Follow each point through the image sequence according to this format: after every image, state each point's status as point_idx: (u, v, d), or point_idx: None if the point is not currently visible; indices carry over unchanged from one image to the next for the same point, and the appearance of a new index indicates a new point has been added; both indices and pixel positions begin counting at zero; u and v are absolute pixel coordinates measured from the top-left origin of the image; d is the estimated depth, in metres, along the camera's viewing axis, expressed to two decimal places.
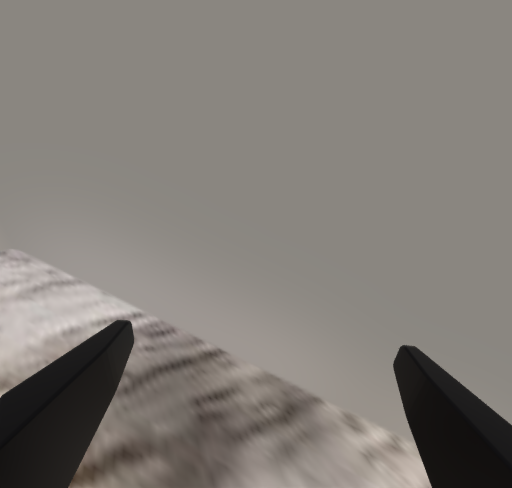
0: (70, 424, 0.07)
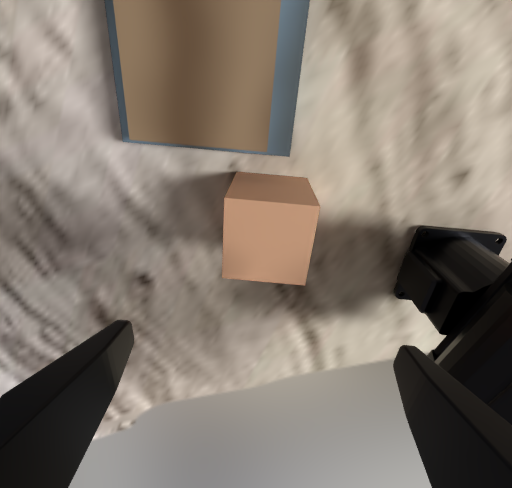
0: (70, 424, 0.07)
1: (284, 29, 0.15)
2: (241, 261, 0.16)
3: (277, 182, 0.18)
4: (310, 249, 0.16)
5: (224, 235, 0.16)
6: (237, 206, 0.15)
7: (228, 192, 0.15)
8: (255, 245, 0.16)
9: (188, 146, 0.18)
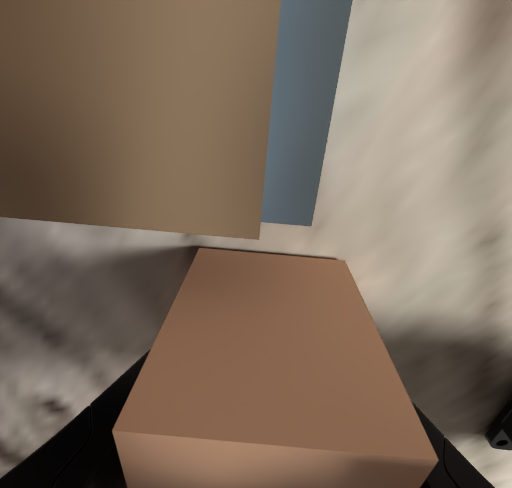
0: None
1: None
2: None
3: (285, 288, 0.08)
4: None
5: None
6: (159, 450, 0.04)
7: (143, 376, 0.05)
8: None
9: None
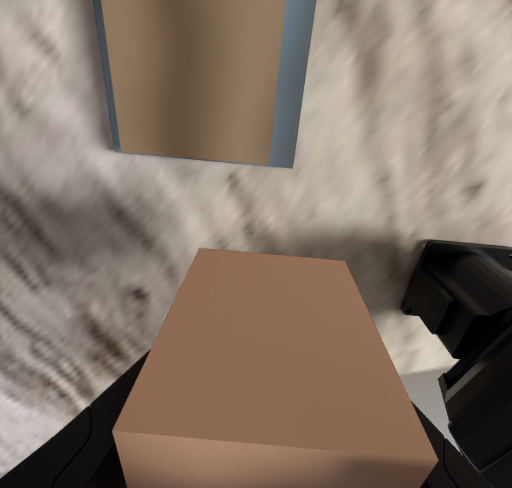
0: None
1: (288, 33, 0.14)
2: None
3: (285, 289, 0.08)
4: None
5: None
6: (159, 450, 0.04)
7: (143, 376, 0.05)
8: None
9: None
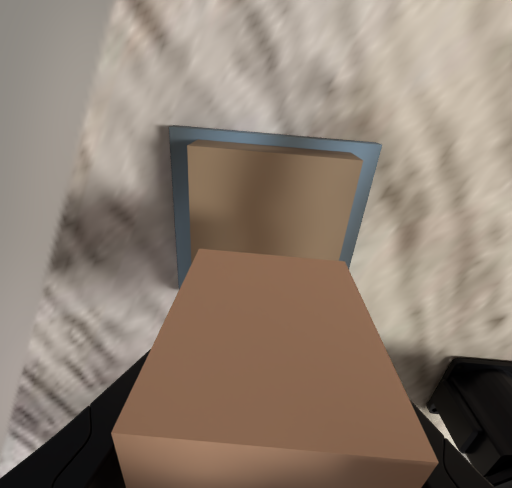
0: None
1: None
2: None
3: (285, 289, 0.08)
4: None
5: None
6: (159, 451, 0.04)
7: (142, 377, 0.05)
8: None
9: None
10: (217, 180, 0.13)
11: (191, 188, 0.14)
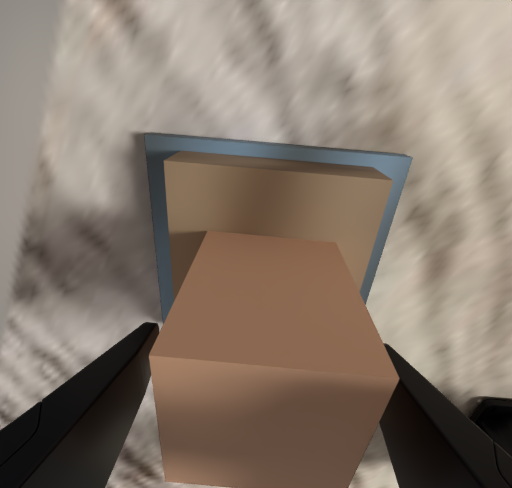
0: (107, 427, 0.07)
1: None
2: (204, 460, 0.07)
3: (283, 263, 0.09)
4: (362, 449, 0.07)
5: (160, 420, 0.07)
6: (184, 372, 0.06)
7: (168, 321, 0.06)
8: (234, 438, 0.07)
9: None
10: (203, 205, 0.10)
11: (171, 214, 0.11)
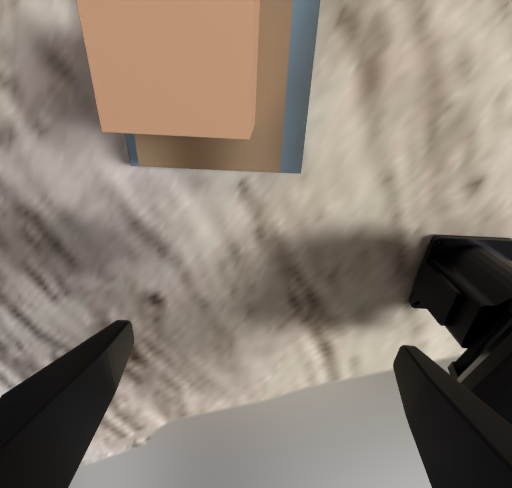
0: (70, 424, 0.07)
1: (293, 47, 0.15)
2: (128, 90, 0.09)
3: None
4: (249, 52, 0.08)
5: (84, 28, 0.08)
6: None
7: None
8: (146, 48, 0.08)
9: None
10: None
11: None
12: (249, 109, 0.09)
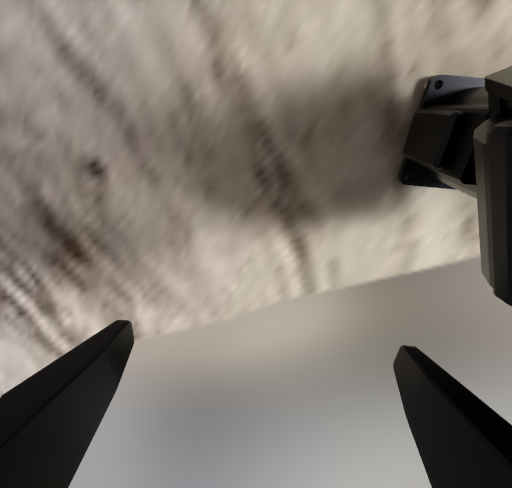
0: (70, 424, 0.07)
1: None
2: None
3: None
4: None
5: None
6: None
7: None
8: None
9: None
10: None
11: None
12: None
